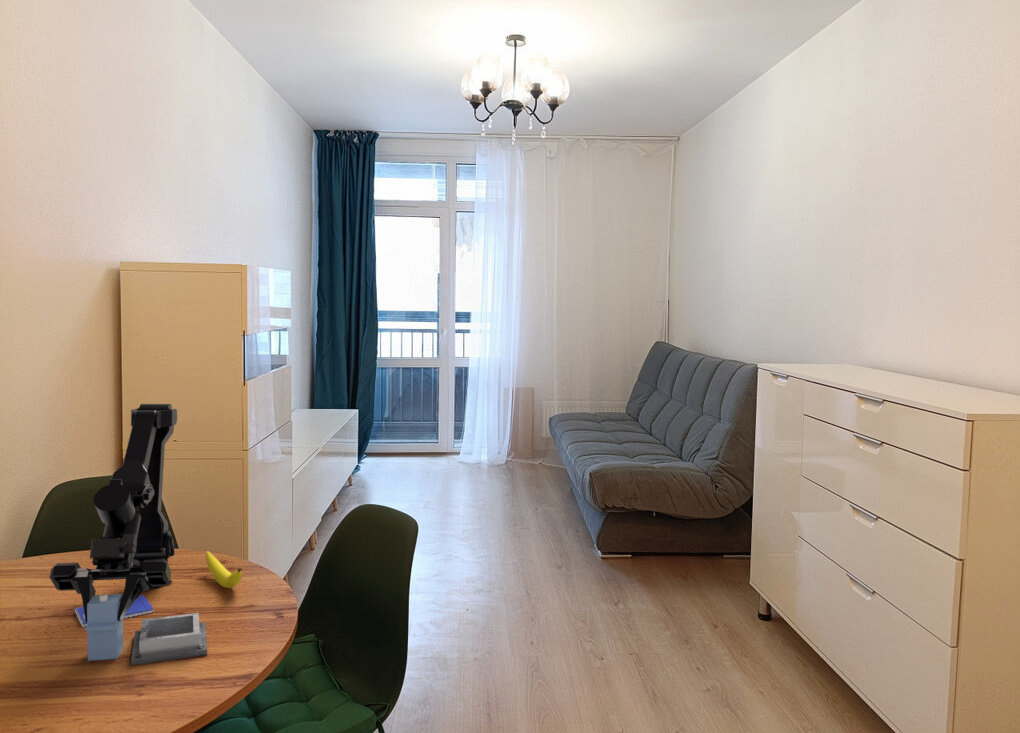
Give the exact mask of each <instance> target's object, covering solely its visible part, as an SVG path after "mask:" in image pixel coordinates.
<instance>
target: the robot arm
mask: <svg viewBox="0 0 1020 733" xmlns="http://www.w3.org/2000/svg"><path fill="white" fill-rule="evenodd" d="M177 423H178V410H177V408H173V406H172V404H171V403H140V404H139V407H137V408H132V409H131V410H130V427H131V430H130V433H129V437H128V442H127V446H126V449H125V454H124V458H123V462H122V465H121V466H120V467H119V468H117V469H116V470H115V471H114V472H112V475H111V479H110V480H109V483H108V484H107V485H104V486H102V487H101V488H100V489H99V490H97V492H96V493H95V494H94V495H93V504H94V507H95V509H96V512H97V513H98V516H99V518H100V519H101V522H102V523H103V524H105V525H104V530H103V534H102V535H103V536H101V537H100V538H96V539H91V543H90V544H91V545H90V550H89V559H92V562H91V563H92V565H93V566H96V567H95V568H92V569H91V568H88V567H87V568H86V567H85V568H82V567H81V566H80V564H79V562H61V563H60V562H59V563H56V564H55V565H54V566H53V567H52V568H51V569H50V573H49V577H48V578H49V579H50V580H51V583H52V584H53V586H54V588H55V589H56V590H57V591H61V592H62V591H63V592H64V591H75V592H76V594H78V595H80V596H81V600H82V607H84V614H85V620H86V623H87V604H88V603H89V601H90V600H91V599H92V598H93V596H94V595H96V593H97V590H96V588H95V587H94V585H93V584H94V581H106V580H107V581H109V580H110V581H111V580H112V581H113V580H125V584H124V590H123V593H122V594H123V596H122V600H121V603H120V607H119V610H118V617H117V620H118V621H121V620H122V618H123V617H124V616H125V614H126V613H127V611H128V610H129V608H130V607H131V605H132V604H133V602H134V601H135V600H136V599H137V598H138V597H139V596H141V594H142V593H143V592H147V591H149V590H151V589H155V588H159V587H168V586H169V585H170V584H172V582H173V581H172V580H173V579H172V580H171V578H172V572H171V571H172V570H171V568H170V567H171V566H170V564H169V559H170V557H174V556H175V555H176V554H175V543H174V539H173V535H172V532H171V531H170V530H169V522H168V520H167V519H166V517H165V515H164V513H163V512H162V501H163V500H162V499H163V497H162V496H163V482H164V466H165V450H166V449H165V447H166V446H165V445H166V444H167V442H168V441H169V439H171V437H172V435H173V434H174V430H175V429H174V428H175V425H177ZM137 509H138V510H137Z"/></svg>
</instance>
